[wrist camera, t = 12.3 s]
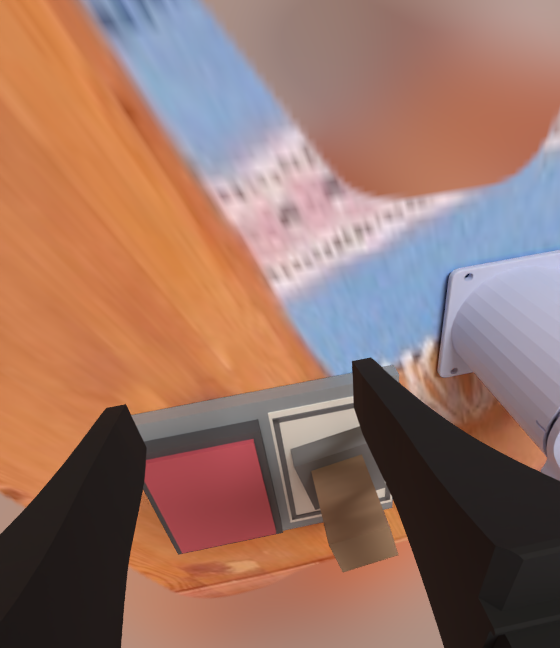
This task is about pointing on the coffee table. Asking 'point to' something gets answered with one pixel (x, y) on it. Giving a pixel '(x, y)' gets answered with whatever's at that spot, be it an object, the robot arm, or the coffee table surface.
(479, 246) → the coffee table surface
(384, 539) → the stamp
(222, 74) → the coffee table surface
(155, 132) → the coffee table surface
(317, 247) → the coffee table surface
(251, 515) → the stamp board
